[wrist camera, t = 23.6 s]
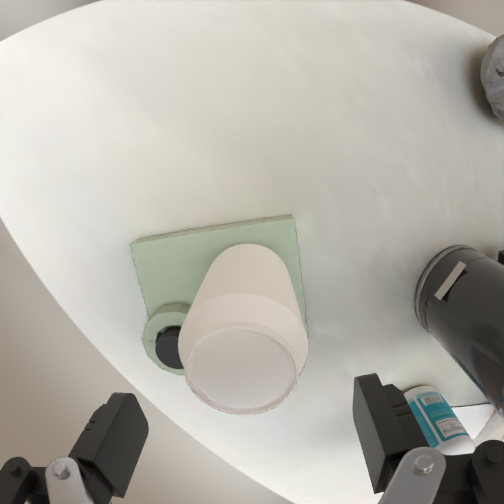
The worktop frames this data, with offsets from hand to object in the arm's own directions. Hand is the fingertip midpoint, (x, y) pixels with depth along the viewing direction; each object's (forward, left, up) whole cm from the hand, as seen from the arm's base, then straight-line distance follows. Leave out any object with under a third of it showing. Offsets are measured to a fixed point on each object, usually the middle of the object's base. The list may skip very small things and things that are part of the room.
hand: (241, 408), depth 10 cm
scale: (+3, +2, -16) cm, 17 cm away
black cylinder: (+7, +5, -13) cm, 16 cm away
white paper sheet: (-26, +31, -16) cm, 43 cm away
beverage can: (0, 0, -15) cm, 15 cm away
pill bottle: (-16, +20, -17) cm, 31 cm away
